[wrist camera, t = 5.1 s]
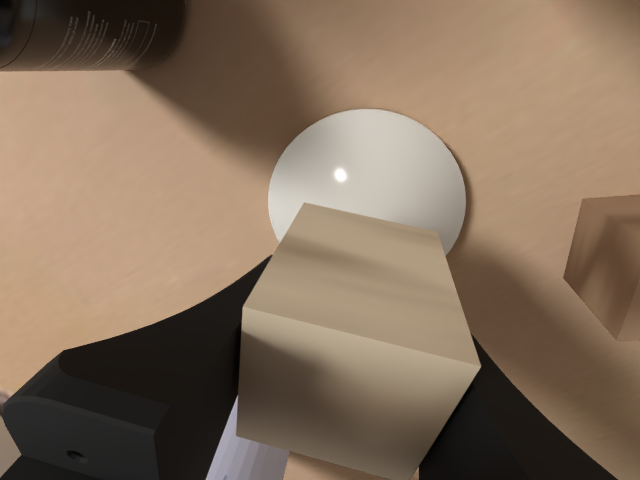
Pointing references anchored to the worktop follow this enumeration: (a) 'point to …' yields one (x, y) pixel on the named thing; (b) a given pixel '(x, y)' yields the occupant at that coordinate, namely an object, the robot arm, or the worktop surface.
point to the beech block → (353, 344)
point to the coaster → (371, 173)
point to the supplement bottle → (88, 34)
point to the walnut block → (608, 262)
